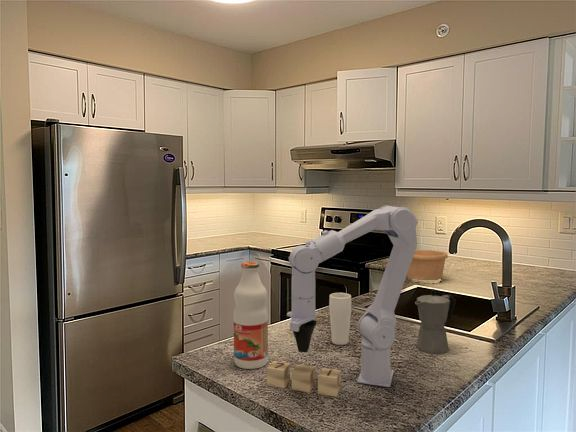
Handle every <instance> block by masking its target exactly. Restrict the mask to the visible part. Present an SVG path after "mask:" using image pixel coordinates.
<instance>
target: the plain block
mask: <svg viewBox="0 0 576 432" xmlns="http://www.w3.org/2000/svg"><path fill="white" fill-rule="evenodd" d="M315 385H316V366H311V365H305V364H296V366H295V367H294V368H293V369H292V371H291V390H292V391H299V392H306V393H311V391H312V390H313V388H314V386H315Z"/></svg>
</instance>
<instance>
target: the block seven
mask: <svg viewBox="0 0 576 432" xmlns="http://www.w3.org/2000/svg"><path fill="white" fill-rule="evenodd" d="M290 381H291V363H289V362H283V361H282V362H281V361H276V360H273V361H272V362H271V363H270V364H269V365H268V366H267V367H266V386H268V387H272V388H273V387H275V388H278V389H285V388H286V386H287V385H288V384H289V383H290Z"/></svg>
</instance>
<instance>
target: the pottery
mask: <svg viewBox="0 0 576 432" xmlns="http://www.w3.org/2000/svg"><path fill="white" fill-rule="evenodd" d="M448 255H449V254H448V253H447V252H444V251H440V250H433V249H432V250H431V249H416V250H415V253H414V256H413V259H412V262H411V264H410V267H409V270H408V273H407V276H406V278H407V281H409V280H412V279H417V280H438V279H441V278H442V279H443V274H444V268H445V262H446V259H448V257H449V256H448Z"/></svg>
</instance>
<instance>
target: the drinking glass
mask: <svg viewBox="0 0 576 432" xmlns="http://www.w3.org/2000/svg"><path fill="white" fill-rule="evenodd" d="M328 300H329V301H328V302H329V303H328V305H329V306H328V308H329V320H330V330H331V331H330V332H331V333H330V334H331V342H332V344H334V345H336V346H344V345H347V344H349V342H350V341H349V340H350V339H349V338H350V328H351V327H350V326H351V317H352V316H351V315H352V295H351V294H349V293H345V292H334V293H331V294H329V299H328Z"/></svg>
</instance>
